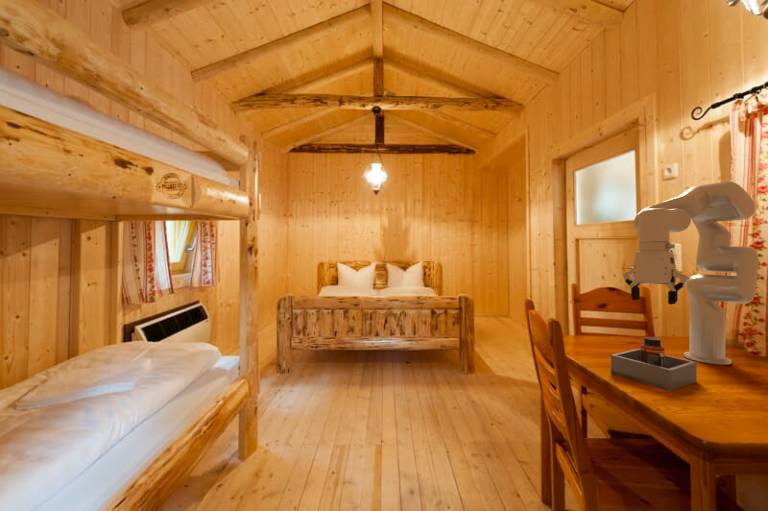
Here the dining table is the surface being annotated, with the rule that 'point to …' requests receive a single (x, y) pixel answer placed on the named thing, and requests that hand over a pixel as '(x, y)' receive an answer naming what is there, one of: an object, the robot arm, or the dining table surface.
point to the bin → (654, 370)
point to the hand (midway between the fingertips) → (653, 301)
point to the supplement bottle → (652, 352)
